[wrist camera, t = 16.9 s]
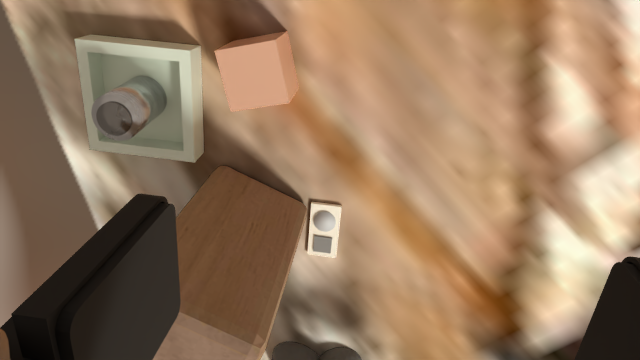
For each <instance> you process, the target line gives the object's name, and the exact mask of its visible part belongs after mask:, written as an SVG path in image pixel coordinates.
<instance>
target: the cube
mask: <svg viewBox="0 0 640 360" xmlns="http://www.w3.org/2000/svg"><path fill="white" fill-rule="evenodd" d="M215 55H216V59H217V63H218V66H219V70H220V74H221V77H222V81H223V85H224V89H225V92H226V96H227V100H228V103H229V107H230V111H231V112H234V111H241V110H247V109H254V108H260V107H267V106H273V105H280V104H286V103H290V101H291V100H292V98H293V97H294V95H295V94H296V92H297V91H298V89H299V85H298V80H297V75H296V70H295V65H294V61H293V56H292V51H291V46H290V41H289V36H288V32H287V31H284V32H279V33H273V34H268V35H263V36H257V37H252V38H246V39H241V40H235V41H232V42H230V43H228V44H226V45H224V46H222V47H221V48H219V49H217V50H215Z"/></svg>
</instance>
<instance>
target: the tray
mask: <svg viewBox="0 0 640 360" xmlns="http://www.w3.org/2000/svg"><path fill="white" fill-rule="evenodd" d="M74 40H75V47H76V54H77V61H78V69H79V76H80V83H81V90H82V97H83V104H84V112H85V119H86V126H87V133H88V140H89V148H90V150H95V151H104V152H112V153H120V154H128V155H136V156H145V157H153V158H161V159H169V160H177V161H186V162H194V163H195V162H196V161H197V159H198V158H199V157H200V156H201V155H202V154H203V153H204V131H203V97H202V63H201V46H200V45H190V44H180V43H170V42H161V41H151V40H141V39H131V38H121V37H112V36H102V35H92V34H91V35H87V36H83V37H79V38H76V39H74ZM136 76H148V77H151V78H153V79H154V80H156V81H157V82H158V83H159V84H160V85H161V86H162V87H163V89H164V91H165V93H166V98H167V104H166V107H165V109H164V111H163V112H162V113H161V114H160V115H159V116H158V117H156V118H155V119H154V120H153V121H152V122H150V123H149V124H148V125H147V126H146V127H144V128H143V129H142V130H141V131H140V132H138V133H137V134H136V135H135V136H134V137H132V138H131V139H128V140H125V141H117V140H113V139H110V138H108V137H106V136H105V135H103V134H102V133H101V132H100V131H99V130H98V129H97V127H96V126H95V124H94V122H93V119H92V114H91V110H92V106H93V103H94V102H95V100H96V99H97V98H99V97H100V96H102V95H103V94H105V93H107V92H109V91H110V90H112V89H114V88H116V87H117V86H119V85H121V84H123V83H124V82H126V81H128V80H130V79H131V78H133V77H136Z"/></svg>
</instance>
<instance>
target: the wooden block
mask: <svg viewBox="0 0 640 360" xmlns="http://www.w3.org/2000/svg"><path fill="white" fill-rule="evenodd" d="M306 216H307V208H306V206H305V205H304V204H303V203H302V202H300V201H297V200H295V199H293V198H291V197H289V196H287V195H285V194H283V193H281V192H279V191H277V190H275V189H273V188H271V187H269V186H267V185H265V184H263V183H260V182H258V181H256V180H254V179H252V178H250V177H248V176H246V175H244V174H242V173H240V172H238V171H236V170H234V169H232V168H230V167H227V166H219V167H218V168H217V169H216V170H214V171H213V173H212V174H211V175H210V176H209V178H208V179H207V180H206V181H205V183H204V184H203V185H202V186H201V188H200V189H199V190H198V191H197V193H196V194H195V195H194V196H193V198H192V199H191V200H190V201H189V202H188V204H187V205H186V206H185V207H184V209H183V210H182V211H181V212H180V214H179V215H178V216H177V217H176V233H177V249H178V266H179V282H180V299H181V304H180V310H179V313H178V316H177V318H176V320H175V322H174V323H173V325H172V327H171V329H170V330H169V332H168V334H167V335H166V337H165V339H164V341H163V342H162V344H161V346H160V348H159V349H158V351H157V353H156V354H155V356H154V358H153V360H260V359H261V357H262V355H263V353H264V352H265V350H266V347H267V343H268V340H269V337H270V333H271V330H272V327H273V324H274V320H275V317H276V314H277V311H278V307H279V304H280V301H281V298H282V294H283V291H284V288H285V285H286V281H287V278H288V275H289V271H290V268H291V265H292V262H293V258H294V255H295V252H296V249H297V245H298V242H299V239H300V236H301V232H302V229H303V226H304V223H305V219H306Z"/></svg>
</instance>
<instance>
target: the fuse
mask: <svg viewBox="0 0 640 360" xmlns="http://www.w3.org/2000/svg"><path fill="white" fill-rule="evenodd" d="M166 104H167V98H166V93H165V91H164V89H163V87H162V86H161V85H160V84H159V83H158V82H157V81H156V80H154V79H153V78H151V77H148V76H136V77H133V78H131V79H130V80H128V81H126V82H124V83H123V84H121V85H119V86H117V87H116V88H114V89H112V90H110V91H109V92H107V93H105V94H103V95H102V96H100V97H99V98H97V99H96V100H95V102H94V103H93V106H92V110H91V114H92V119H93V122H94V124H95V126H96V127H97V129H98V130H99V131H100V132H101V133H102V134H103V135H105V136H106V137H108V138H110V139H113V140H117V141H125V140H128V139H131V138H132V137H134V136H135V135H136V134H137V133H138V132H140V131H141V130H142V129H143V128H144V127H146V126H147V125H148V124H149V123H150V122H152V121H153V120H154V119H155V118H156V117H158V116H159V115H160V114H161V113H162V112H163V111H164V109H165V107H166Z"/></svg>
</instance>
